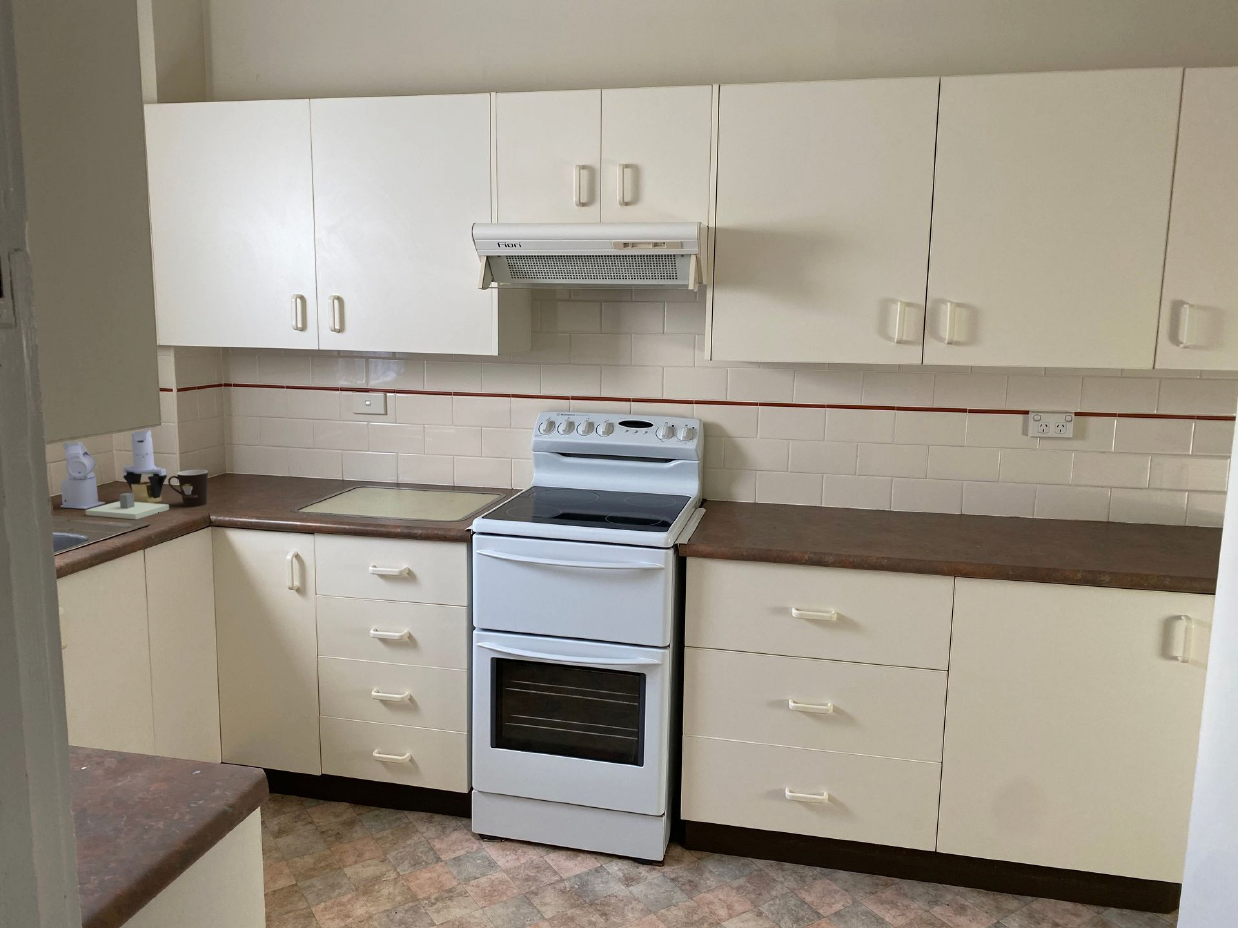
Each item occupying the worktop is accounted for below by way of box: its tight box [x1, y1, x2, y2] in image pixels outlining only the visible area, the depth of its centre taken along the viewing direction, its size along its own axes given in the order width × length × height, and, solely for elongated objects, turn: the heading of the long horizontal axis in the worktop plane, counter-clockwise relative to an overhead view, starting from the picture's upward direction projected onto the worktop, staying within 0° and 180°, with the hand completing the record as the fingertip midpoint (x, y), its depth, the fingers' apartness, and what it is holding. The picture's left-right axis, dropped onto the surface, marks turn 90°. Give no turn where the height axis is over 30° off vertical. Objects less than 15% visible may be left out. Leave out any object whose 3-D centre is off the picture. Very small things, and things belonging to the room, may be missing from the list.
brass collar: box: [131, 480, 162, 504], centre depth 293 cm, size 6×6×6 cm
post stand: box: [84, 492, 170, 520], centre depth 279 cm, size 18×13×6 cm
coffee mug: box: [167, 469, 209, 508], centre depth 290 cm, size 12×9×10 cm
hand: (147, 496), depth 293 cm, fingers open, 7 cm apart
